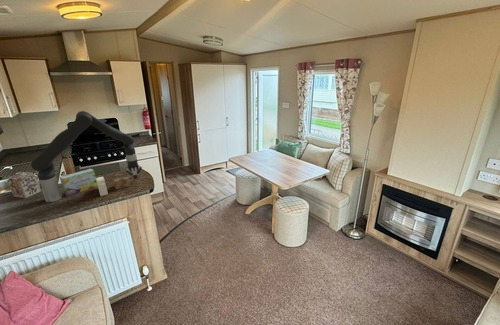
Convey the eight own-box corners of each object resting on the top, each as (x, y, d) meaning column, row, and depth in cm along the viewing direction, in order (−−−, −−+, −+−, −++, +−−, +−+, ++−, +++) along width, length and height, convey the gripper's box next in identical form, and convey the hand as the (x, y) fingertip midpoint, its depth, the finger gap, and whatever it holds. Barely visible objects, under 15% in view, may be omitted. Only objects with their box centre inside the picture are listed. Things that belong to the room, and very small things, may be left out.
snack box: (67, 197, 176) (61, 178, 170) (64, 194, 179) (59, 176, 173) (98, 186, 191) (93, 169, 186) (95, 184, 195) (90, 167, 189)
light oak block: (116, 189, 186) (114, 183, 184) (114, 186, 193) (113, 180, 191) (132, 186, 193) (131, 180, 191) (130, 182, 199) (129, 176, 197)
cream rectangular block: (100, 196, 177) (97, 185, 173) (98, 188, 189) (96, 178, 185) (108, 194, 179) (105, 183, 176) (105, 186, 191) (103, 176, 188)
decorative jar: (25, 198, 173) (17, 176, 167) (13, 197, 175) (4, 175, 169) (42, 191, 184) (34, 170, 178) (30, 189, 186) (22, 168, 180)
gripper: (123, 162, 184) (127, 182, 190) (141, 159, 191) (145, 178, 197) (121, 159, 189) (126, 179, 196) (139, 156, 197) (142, 175, 203)
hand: (135, 178), depth 196 cm, fingers closed
